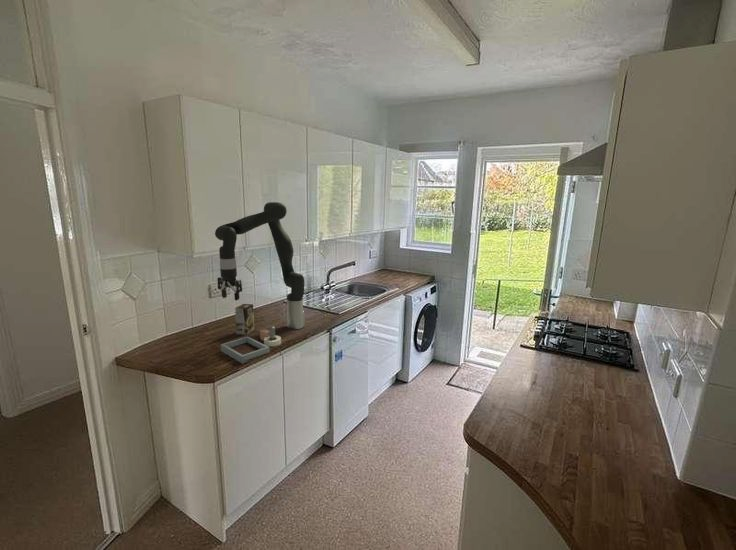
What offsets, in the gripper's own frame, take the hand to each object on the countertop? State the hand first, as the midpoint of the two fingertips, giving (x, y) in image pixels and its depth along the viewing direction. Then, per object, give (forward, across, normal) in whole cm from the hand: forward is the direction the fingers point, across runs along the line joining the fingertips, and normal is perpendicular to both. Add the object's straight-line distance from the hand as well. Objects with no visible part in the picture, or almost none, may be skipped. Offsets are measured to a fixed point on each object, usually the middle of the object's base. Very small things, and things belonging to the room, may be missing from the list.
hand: (230, 298), depth 180 cm
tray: (+26, -10, +2) cm, 28 cm away
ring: (+25, -13, -13) cm, 31 cm away
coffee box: (+26, +10, -17) cm, 33 cm away
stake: (+26, -15, -12) cm, 33 cm away
